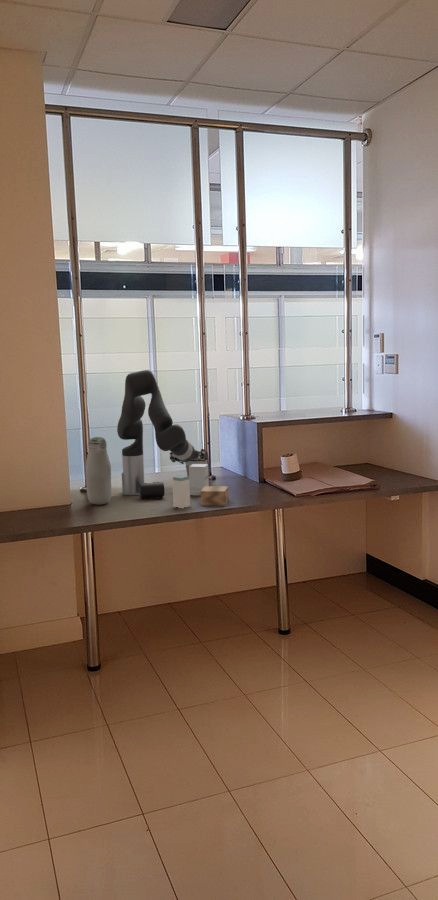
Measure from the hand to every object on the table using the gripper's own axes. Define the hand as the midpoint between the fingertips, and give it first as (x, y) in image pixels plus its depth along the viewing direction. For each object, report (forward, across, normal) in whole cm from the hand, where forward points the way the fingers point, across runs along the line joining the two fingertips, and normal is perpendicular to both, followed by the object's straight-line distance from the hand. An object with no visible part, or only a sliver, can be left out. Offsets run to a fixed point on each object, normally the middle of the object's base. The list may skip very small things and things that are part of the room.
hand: (193, 460), depth 281 cm
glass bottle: (+8, +42, +13) cm, 45 cm away
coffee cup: (+45, +9, 0) cm, 46 cm away
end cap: (+20, +24, +9) cm, 32 cm away
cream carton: (+8, +7, +16) cm, 20 cm away
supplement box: (+30, +5, +7) cm, 31 cm away
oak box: (+15, -5, +15) cm, 22 cm away
